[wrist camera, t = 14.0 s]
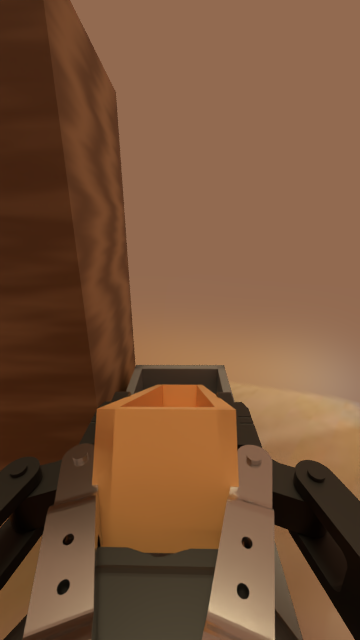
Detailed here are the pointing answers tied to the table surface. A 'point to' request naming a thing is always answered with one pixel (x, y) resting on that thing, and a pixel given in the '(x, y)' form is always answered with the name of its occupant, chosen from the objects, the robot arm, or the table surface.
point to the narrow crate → (165, 468)
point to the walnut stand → (58, 234)
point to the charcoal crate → (218, 382)
